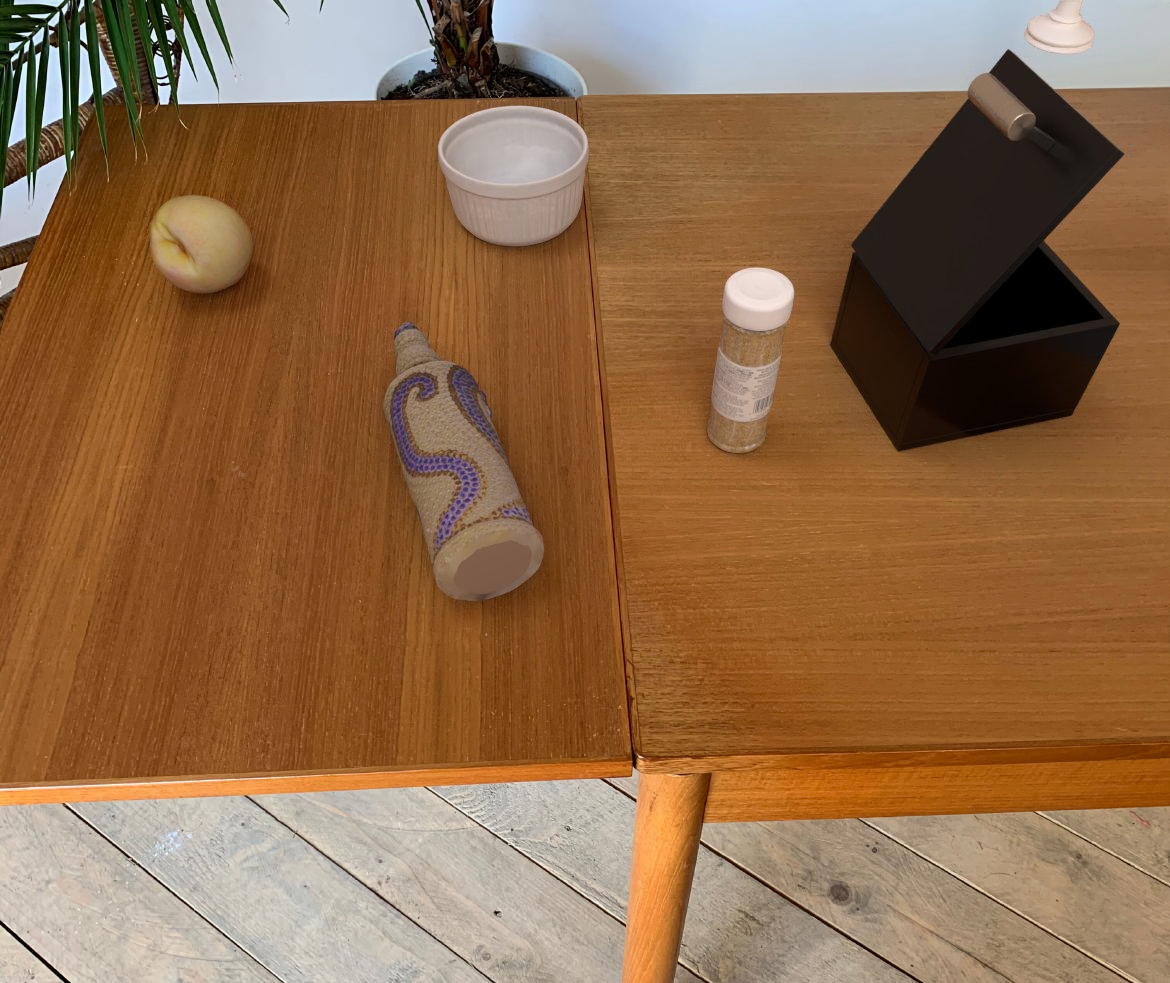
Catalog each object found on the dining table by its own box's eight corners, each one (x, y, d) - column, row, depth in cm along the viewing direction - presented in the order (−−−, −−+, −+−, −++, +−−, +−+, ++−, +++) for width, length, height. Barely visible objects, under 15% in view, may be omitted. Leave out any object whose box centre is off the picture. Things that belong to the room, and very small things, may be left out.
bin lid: (1014, 53, 66) (968, 19, 63) (1125, 154, 59) (1078, 120, 56) (857, 248, 75) (810, 226, 72) (935, 356, 68) (887, 336, 65)
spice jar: (743, 406, 78) (768, 256, 67) (777, 442, 76) (810, 293, 65) (693, 426, 77) (711, 277, 66) (727, 464, 74) (751, 316, 64)
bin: (990, 315, 85) (1027, 222, 78) (1072, 416, 77) (1120, 323, 70) (829, 345, 82) (852, 251, 75) (897, 452, 75) (930, 359, 68)
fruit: (152, 284, 87) (117, 200, 81) (238, 247, 90) (211, 164, 84) (192, 327, 84) (160, 243, 77) (281, 287, 87) (256, 203, 81)
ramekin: (423, 241, 91) (413, 169, 85) (476, 165, 99) (469, 94, 93) (563, 268, 89) (562, 196, 83) (606, 187, 96) (607, 116, 91)
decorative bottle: (552, 587, 68) (548, 522, 62) (442, 616, 66) (429, 553, 61) (460, 346, 82) (450, 277, 77) (368, 366, 81) (352, 297, 76)
